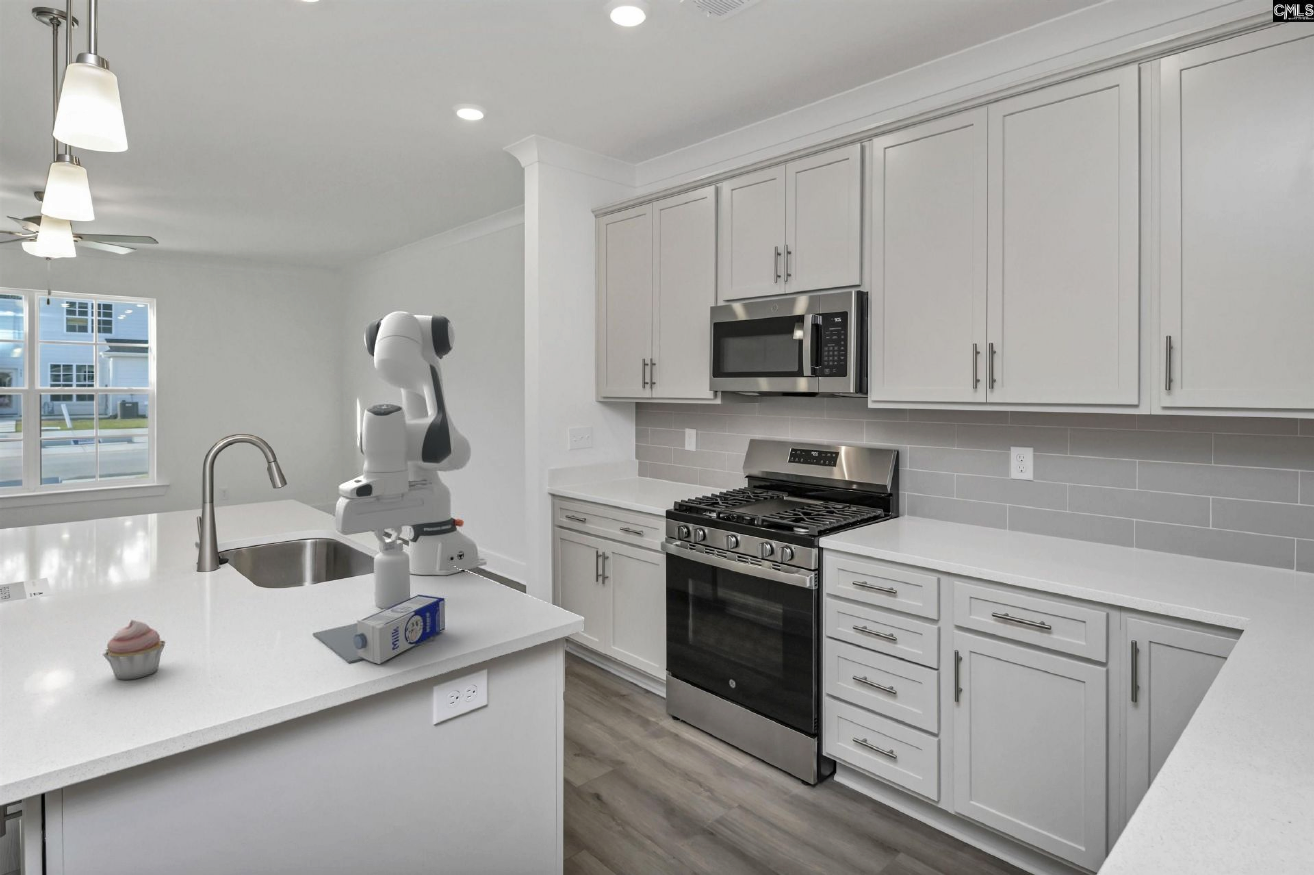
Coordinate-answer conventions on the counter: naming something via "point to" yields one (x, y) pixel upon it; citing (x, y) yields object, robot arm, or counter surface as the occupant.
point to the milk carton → (399, 627)
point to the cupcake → (134, 651)
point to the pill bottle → (391, 576)
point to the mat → (346, 641)
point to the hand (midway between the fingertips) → (388, 549)
